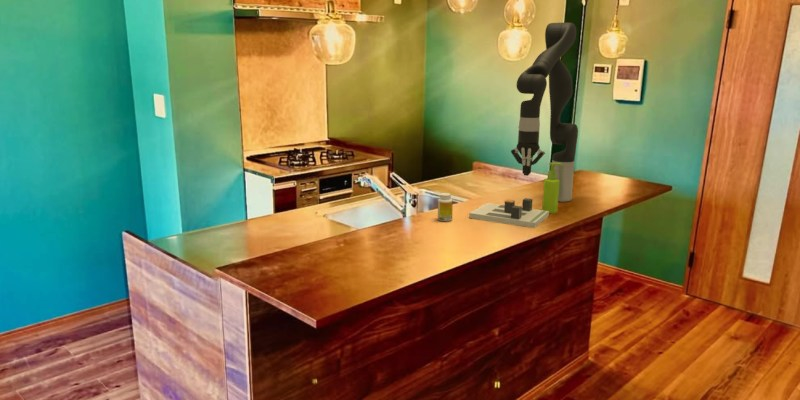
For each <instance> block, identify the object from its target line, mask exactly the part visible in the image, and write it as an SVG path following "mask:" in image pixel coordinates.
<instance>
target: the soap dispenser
mask: <svg viewBox="0 0 800 400" xmlns="http://www.w3.org/2000/svg"><path fill="white" fill-rule="evenodd" d="M548 165H549V166H550V169H549V170H548V171H547V178H545V179H544V180H543V193H542V195H543V196H542V207H541V208H542V209H541V210H544V211H549V214H556V213H558V209H559V208H558V205H559V201H558V194H559V180H558V179H556V176H557V171H555V165H561V166H563V164H561V163H552V162H548Z"/></svg>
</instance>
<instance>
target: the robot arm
mask: <svg viewBox="0 0 800 400" xmlns="http://www.w3.org/2000/svg"><path fill="white" fill-rule="evenodd" d="M544 39H545V40H544V41H545V50H543V51H542V52H541V53H539V54H538V55H537V57H536V58H535V60H534V61H533V63H532V65H531V66H529V67H528V68H526V69H525V70H524V71H523V72H522V73H521V74H520V75H519V76H518V78H517V80H516V90H517V91H518V92H519V93H520V94H524V95H526V94H527V95H533V96H532V97H531V99H527V100H523V101H521V103H520V109H519V110H520V112H519V121H518V136H517V144H516V147H515V148H514V149H513V148H512V149H511V150H510V153H511V154H512V156H513V157H514V159H515V160H516V162H517V163H518V164H520V165H522V171H521V172H522V175H523V176H525V177H526V176H529V175H530V174H531V172H532V166H534V165H536V164H537V163H539V161H540V160H541V159H542V157H543V156H544V155H545V154H546V152H545V151H543V150H541V148H540V144H539V142H540V127H541V123H540V122H541V121H540V115H541V105H542V101H543V97H544V95H545V92H546V90H547V83H548V92H549V108H550V109H549V110H550V117H549V119H550V122H549V124H550V125H549V139H550V141H551V144H554V145H562V146H565V148H564V150H561V151H558V152H557V151H556V152H555V153H553V154H552V157H551V159H552V160H551V161H552V162H551V163H561V164H563V166H561V165H555V171H557V176H556V179H558V180H559V194H558V202H570V201H572V196H573V184H574V172H575V158H576V152H577V143H578V136H579V130H578V129H579V127H578V125H577V124H575V123H568V122H567V123H566V122H561V115H562V112H563V110H564V109H565V107H566V106H567V104H568V103H569V101H570V99H571V98H572V96H573V92H574V91H573V90H574V89H573V77H572V74H571V73H570V71H569V70H568V68H567V66H566V65H565V64H564V62H563V61H562V59H561V58H562V57H563V56H564V55H565V53H566V52H568V51H569V49H570V48H571V47H572V46H573V45H574V43H575V42H576V39H577V26H576V25H575V24H574V23H573V22H567V21H566V22H550V23H548V24H547V25H546V28H545V32H544ZM547 78H548V82H547ZM519 153H520V154H519ZM535 155H537V156H536V157H535V158H534V156H535Z"/></svg>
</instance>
